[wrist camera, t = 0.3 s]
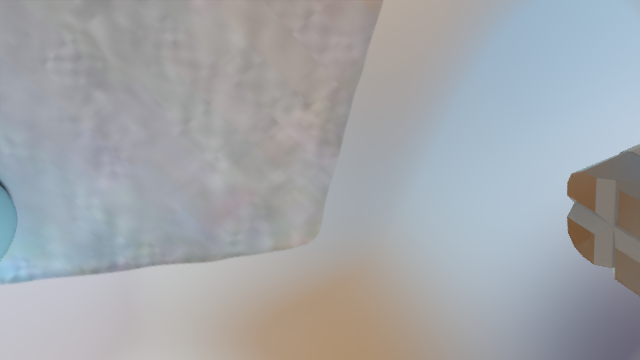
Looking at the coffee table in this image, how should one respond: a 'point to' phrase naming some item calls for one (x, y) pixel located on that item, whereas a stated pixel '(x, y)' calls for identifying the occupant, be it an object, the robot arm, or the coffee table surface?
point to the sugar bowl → (6, 222)
